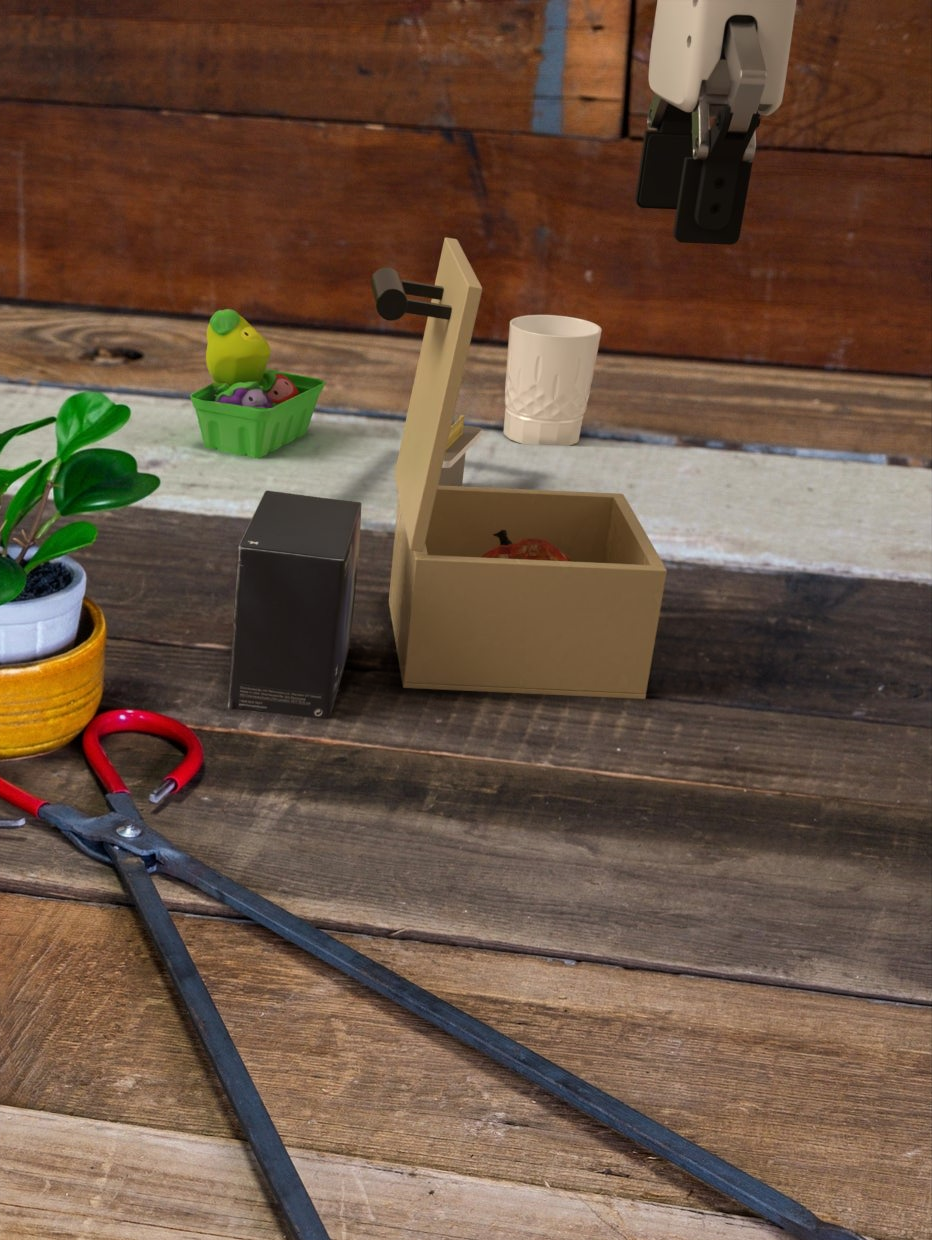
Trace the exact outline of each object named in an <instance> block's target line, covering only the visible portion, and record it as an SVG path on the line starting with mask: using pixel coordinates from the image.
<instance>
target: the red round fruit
mask: <svg viewBox="0 0 932 1240" xmlns="http://www.w3.org/2000/svg"><path fill="white" fill-rule="evenodd" d="M492 535H494V536H496V537H498V538H499V539H500V545H499V546H497V547H495V548H493V549H492V550H490V551H488V552H487V553H485V554H484V555H483V556H482V557H481V558H503V559H525V560H547V561H569V562H572V561H571V560H570V559H569V558H568V557H567V556H565V555H564V554H563V553H562V552H561V551H560V550H558V549H557V548H555V547H554V546H553V545H551V544H550V543H548V542H547V541H544V540H540V539H529V538H526V539H522V540H520V541H519V542H517V543H515V544H512V542H511V541H510V540H509V539H508V537H507V532H506V530H503V529H502V530H501V531H500V532H498V533H496V534H492Z"/></svg>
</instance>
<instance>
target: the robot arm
mask: <svg viewBox="0 0 932 1240" xmlns="http://www.w3.org/2000/svg"><path fill="white" fill-rule="evenodd" d="M655 8H656V9H655V15H654V22H653V29H652V37H651V44H650V52H649V61H648V62H649V63H648V85H649V88H650V90H652V91H653V93H654V94H653V97H652V100H651V103H650V106H649V109H648V112H647V116H646V117H647V118H646V128H647V129H644V135H643V141H642V147H641V153H640V154H641V155H640V162H639V169H638V175H637V183H636V188H635V195H634V202H635V204H636V205H637V207H639V208H640V209H656V210H659V209H660V210H675V211H676V212H675V216H674V217H675V218H674V224H673V231H672V236H673V238H674V239H675V240H676V241H677V242H679V243H684V244H703V245H704V244H705V245H706V244H707V245H710V244H711V245H729V246H730V245H735V244H736V243H737V242H738V241H739V240H740V236H741V232H742V226H743V220H744V214H745V208H746V203H747V197H748V191H749V185H750V180H751V173H752V168H753V163H754V162H753V160H754V157H755V154H756V149H757V148H756V147H757V137H756V136H757V134H756V131H757V130H756V129H757V128H759V127H760V124H761V117H760V116H767V117H768V116H770V115H772V114H773V113H775V112H776V111H777V110H778V109H779V108H780V106H781V105H782V104H783V103H782V102H783V98H784V93H785V86H786V79H787V73H788V66H789V65H788V64H789V58H790V52H791V44H792V38H793V37H792V36H793V29H794V22H795V15H796V8H797V0H657V2H656V7H655ZM710 118H711V119H713V123H712V125H711V124H710V122H711V121H710Z"/></svg>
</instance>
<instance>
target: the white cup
mask: <svg viewBox="0 0 932 1240" xmlns="http://www.w3.org/2000/svg"><path fill="white" fill-rule="evenodd" d="M602 331H603V329H602V328H601V326H600V325H599V324H596V323H595V322H592V321H589V320H586V319H582V318H577V317H572V316H565V315H555V314H528V315H521V316H517V317H513V318H512V319H511V320H510V321H509V328H508V341H507V342H508V344H507V356H506V367H505V369H506V370H505V384H504V405H505V407H504V421H503V422H504V423H503V435H504V436H505V437H506V438H507V439H509V440H511V441H513V442H515V443H518V444H521V445H533V446H535V445H537V446H557V447H558V446H559V447H560V446H561V447H570V446H573V445H575V444H577V443H579V441H580V437H581V431H582V424H583V419H584V418H585V413H586V411H587V407H588V401H589V398H590V393H591V388H592V387H591V386H592V383H593V379H594V374H595V367H596V364H597V363H596V362H597V357H598V351H599V347H600V341H601V336H602Z"/></svg>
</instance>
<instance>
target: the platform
mask: <svg viewBox="0 0 932 1240" xmlns="http://www.w3.org/2000/svg"><path fill="white" fill-rule="evenodd" d="M465 416H466V414H460V415H459V418H458V419H457V420H456V421H455V422H454V423H452V426H451V430H450V435H449V439H448V444H447V448H446V452H445V457H444V461H443V466H442V470H441V475H440V479H439V483H438V485H440V486H462V485H463V482H464V473H465V463H466V454H467V451H468V450H470V448H471V447H472V446H473V445H475V444H476V442H477V441H478V440H479V439H480V438H481V437H482V436H483V428H482V427H480V426H474V425H468V424H464V423H465Z"/></svg>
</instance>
